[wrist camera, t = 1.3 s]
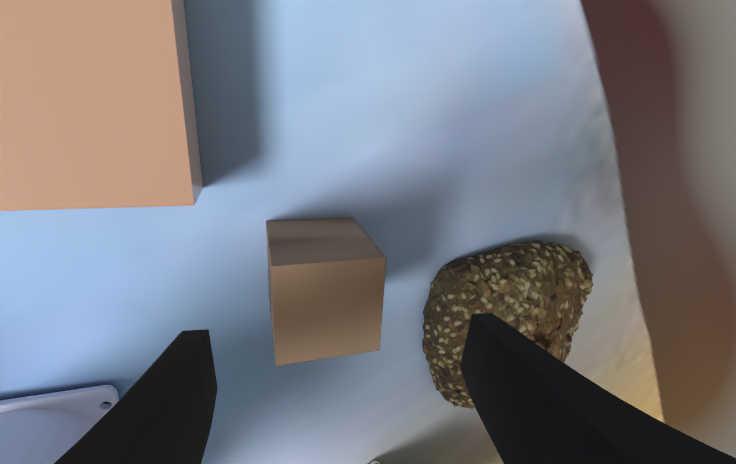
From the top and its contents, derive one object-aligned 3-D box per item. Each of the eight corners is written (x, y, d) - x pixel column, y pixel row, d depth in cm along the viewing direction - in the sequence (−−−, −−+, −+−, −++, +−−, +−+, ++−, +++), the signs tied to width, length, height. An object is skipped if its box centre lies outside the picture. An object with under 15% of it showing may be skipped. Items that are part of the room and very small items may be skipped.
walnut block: (349, 291, 21) (379, 350, 16) (269, 299, 20) (275, 366, 15) (352, 217, 20) (386, 257, 15) (265, 220, 18) (271, 266, 13)
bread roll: (425, 243, 22) (470, 281, 17) (586, 231, 26) (657, 260, 21) (407, 409, 26) (440, 473, 22) (547, 379, 30) (600, 428, 25)
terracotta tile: (202, 188, 17) (194, 205, 14) (-14, 191, 15) (-74, 212, 12) (182, -13, 14) (166, -38, 12) (-87, -48, 12) (-186, -90, 9)
